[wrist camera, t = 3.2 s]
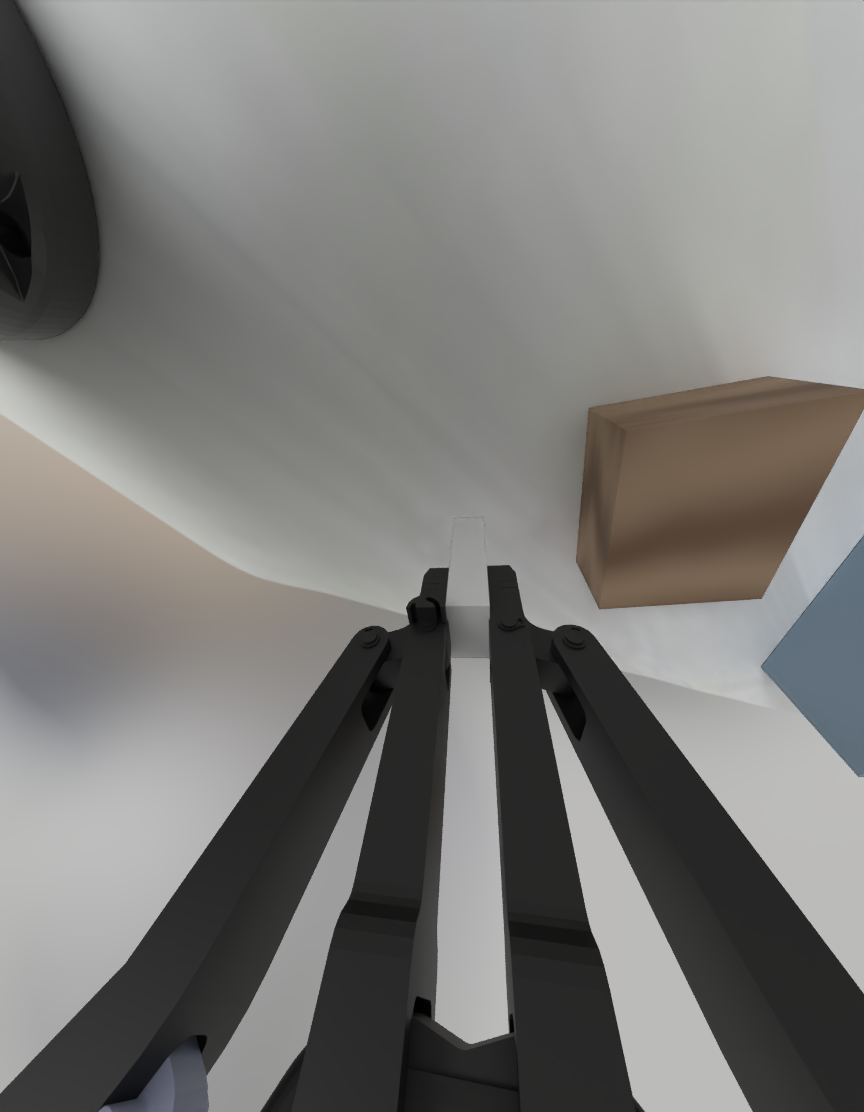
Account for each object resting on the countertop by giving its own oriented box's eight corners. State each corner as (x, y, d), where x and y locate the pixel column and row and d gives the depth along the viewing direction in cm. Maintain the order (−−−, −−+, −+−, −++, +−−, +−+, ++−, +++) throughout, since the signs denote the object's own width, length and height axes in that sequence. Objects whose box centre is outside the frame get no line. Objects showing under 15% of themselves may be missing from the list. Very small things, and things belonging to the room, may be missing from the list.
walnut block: (587, 407, 17) (626, 430, 12) (764, 375, 15) (873, 390, 11) (575, 558, 22) (599, 609, 18) (703, 546, 21) (761, 598, 16)
